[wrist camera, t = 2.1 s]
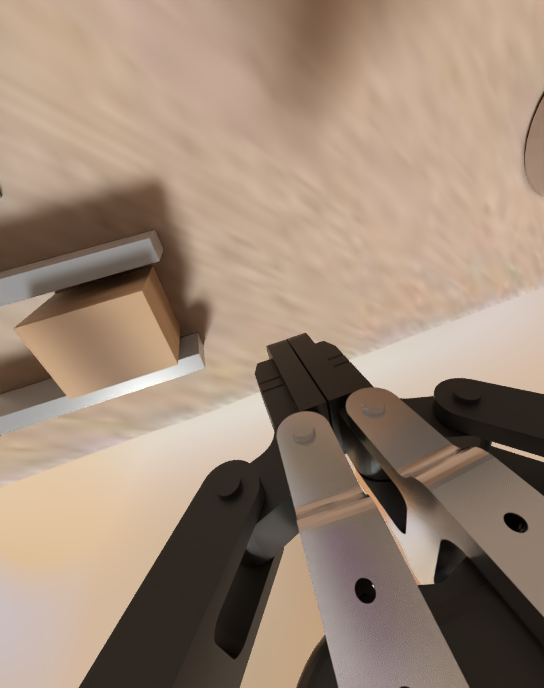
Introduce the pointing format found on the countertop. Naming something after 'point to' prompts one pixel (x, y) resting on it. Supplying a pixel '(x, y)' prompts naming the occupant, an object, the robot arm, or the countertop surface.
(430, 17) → the countertop surface
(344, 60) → the countertop surface
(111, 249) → the chute
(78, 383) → the light brown block
